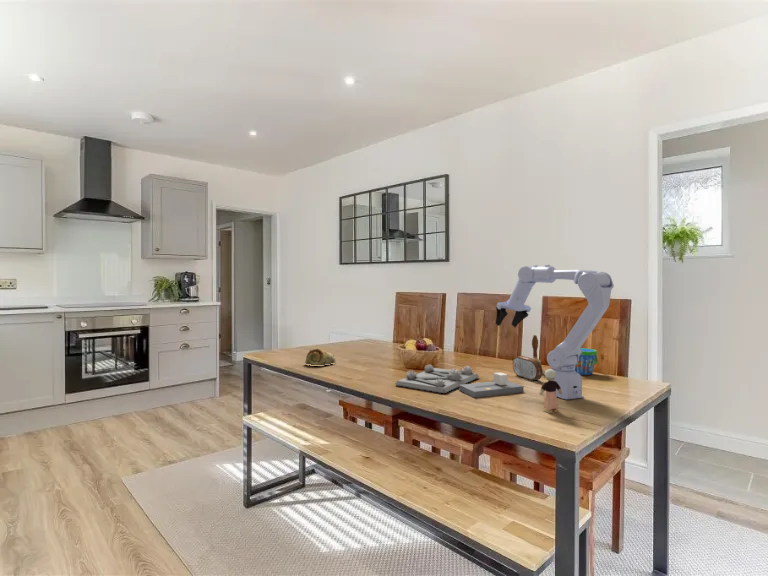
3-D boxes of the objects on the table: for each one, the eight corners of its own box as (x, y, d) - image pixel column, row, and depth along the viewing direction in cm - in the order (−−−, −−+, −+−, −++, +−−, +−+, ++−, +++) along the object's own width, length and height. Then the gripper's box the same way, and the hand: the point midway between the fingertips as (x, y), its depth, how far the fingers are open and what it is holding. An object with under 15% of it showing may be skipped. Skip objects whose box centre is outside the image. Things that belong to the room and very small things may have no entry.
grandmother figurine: (553, 407, 131) (553, 366, 130) (564, 411, 127) (564, 369, 127) (535, 411, 127) (535, 369, 127) (546, 415, 124) (546, 371, 123)
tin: (543, 382, 164) (543, 360, 164) (536, 382, 163) (536, 360, 163) (517, 374, 178) (517, 354, 178) (511, 374, 177) (511, 354, 177)
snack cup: (587, 369, 185) (587, 346, 185) (607, 374, 175) (607, 350, 175) (558, 372, 180) (558, 348, 180) (577, 377, 170) (577, 352, 170)
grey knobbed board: (433, 373, 183) (433, 356, 183) (480, 379, 170) (480, 362, 170) (393, 387, 159) (393, 368, 159) (445, 396, 146) (445, 375, 146)
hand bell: (547, 375, 176) (547, 336, 175) (526, 374, 177) (526, 336, 177) (543, 370, 184) (543, 334, 184) (523, 370, 185) (523, 333, 185)
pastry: (302, 367, 194) (302, 350, 194) (308, 362, 206) (308, 345, 206) (333, 367, 194) (333, 350, 193) (337, 362, 206) (336, 345, 206)
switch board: (523, 391, 149) (523, 386, 149) (474, 397, 142) (474, 391, 142) (506, 385, 159) (506, 380, 159) (459, 390, 152) (459, 384, 152)
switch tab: (507, 384, 150) (507, 374, 150) (500, 385, 149) (500, 375, 149) (500, 382, 154) (500, 372, 154) (493, 382, 153) (493, 373, 153)
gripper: (529, 291, 166) (515, 320, 172) (498, 288, 161) (485, 317, 167) (539, 301, 160) (524, 330, 166) (507, 297, 155) (493, 328, 161)
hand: (505, 325), depth 166 cm, fingers open, 7 cm apart
